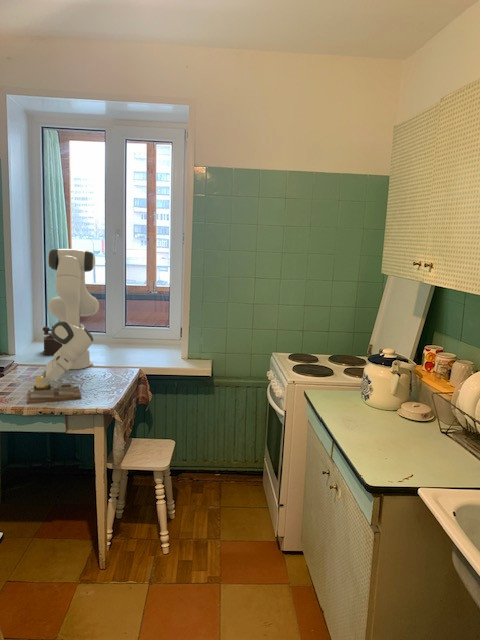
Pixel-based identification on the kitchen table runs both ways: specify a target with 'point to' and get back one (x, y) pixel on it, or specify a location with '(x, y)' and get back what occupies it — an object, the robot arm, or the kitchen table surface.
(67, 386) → the socket board
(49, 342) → the manual coffee grinder
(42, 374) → the robot arm
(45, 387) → the gold metal cylinder
